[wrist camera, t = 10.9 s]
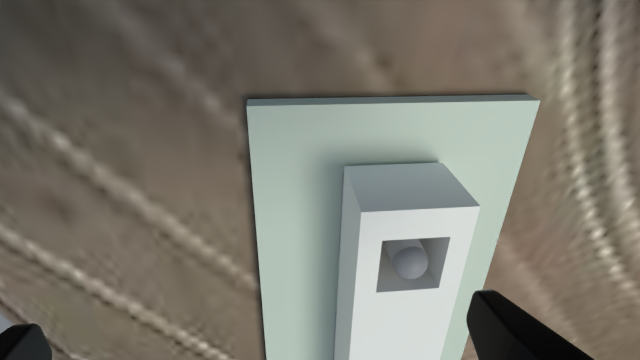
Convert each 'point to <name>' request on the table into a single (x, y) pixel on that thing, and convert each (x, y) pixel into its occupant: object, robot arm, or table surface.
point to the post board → (327, 196)
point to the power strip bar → (376, 268)
